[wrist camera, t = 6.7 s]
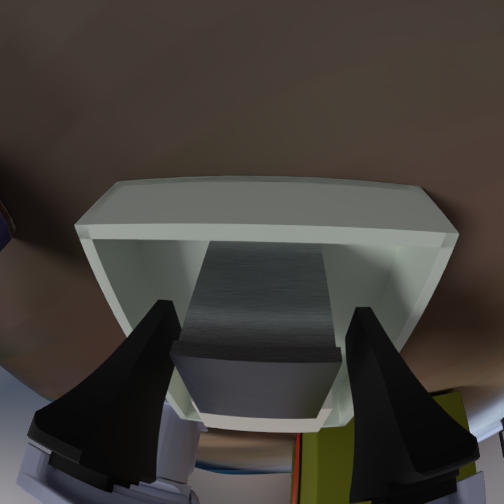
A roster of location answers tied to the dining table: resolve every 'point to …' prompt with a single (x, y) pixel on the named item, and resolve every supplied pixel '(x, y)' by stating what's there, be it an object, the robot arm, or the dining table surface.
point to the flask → (5, 227)
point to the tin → (259, 332)
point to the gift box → (345, 459)
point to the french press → (503, 442)
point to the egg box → (268, 421)
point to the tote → (270, 230)
